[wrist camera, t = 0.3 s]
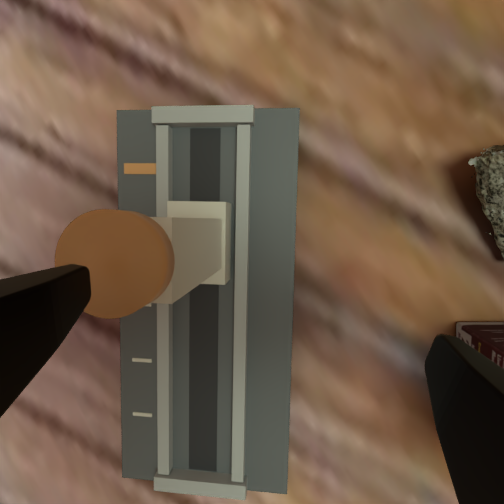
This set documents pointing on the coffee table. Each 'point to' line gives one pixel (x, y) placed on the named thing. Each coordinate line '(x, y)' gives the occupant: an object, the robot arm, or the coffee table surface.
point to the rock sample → (492, 189)
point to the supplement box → (484, 338)
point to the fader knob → (148, 254)
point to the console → (213, 303)
